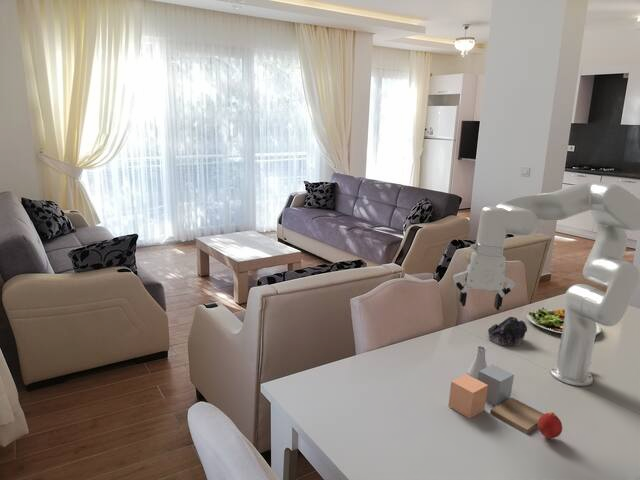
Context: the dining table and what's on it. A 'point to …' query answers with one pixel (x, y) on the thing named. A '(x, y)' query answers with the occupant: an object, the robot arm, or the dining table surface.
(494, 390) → the gray cube
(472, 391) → the peach cube
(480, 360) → the flask
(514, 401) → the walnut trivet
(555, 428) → the red rounded lump
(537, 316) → the plate of food
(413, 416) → the dining table surface
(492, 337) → the crystal cluster
